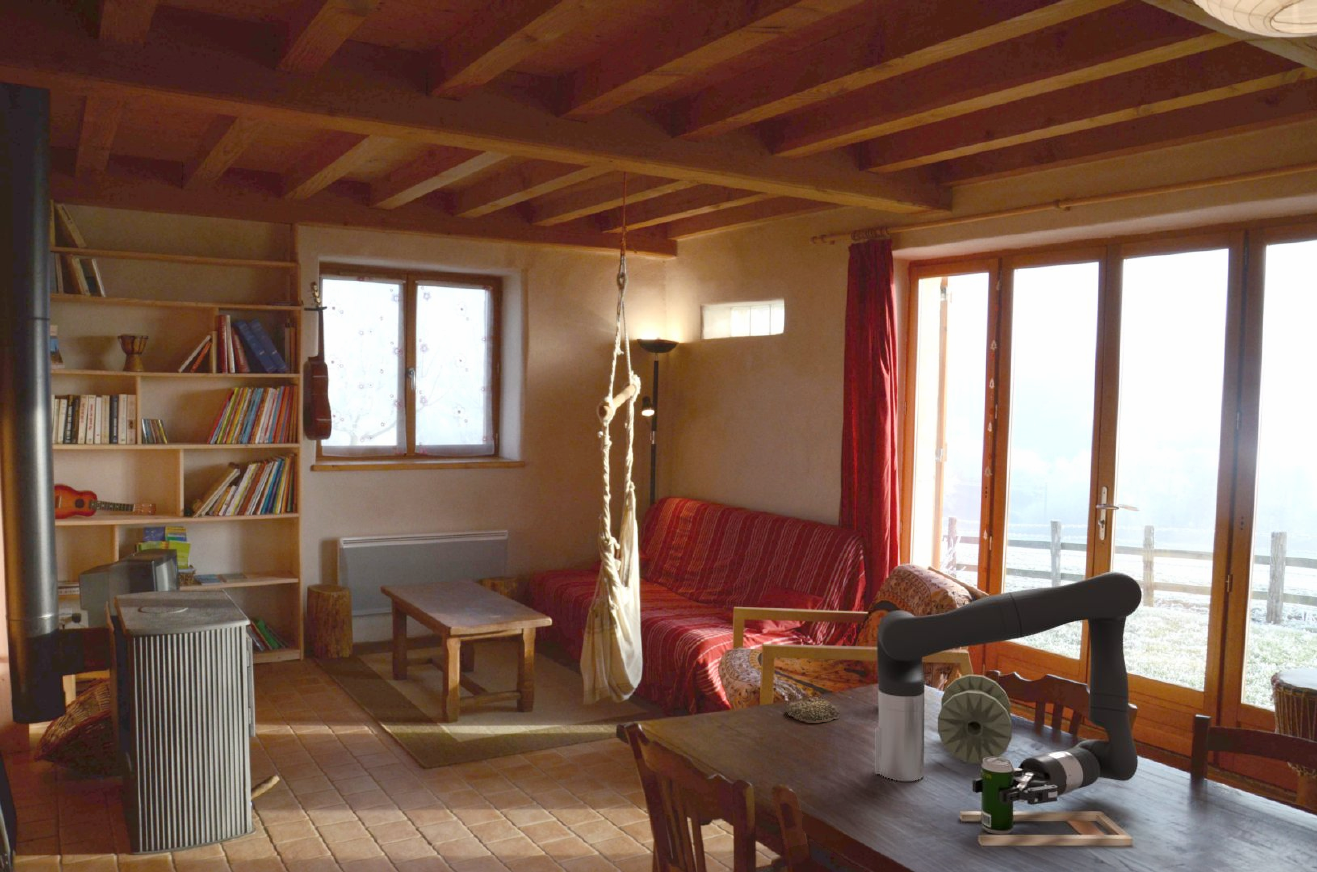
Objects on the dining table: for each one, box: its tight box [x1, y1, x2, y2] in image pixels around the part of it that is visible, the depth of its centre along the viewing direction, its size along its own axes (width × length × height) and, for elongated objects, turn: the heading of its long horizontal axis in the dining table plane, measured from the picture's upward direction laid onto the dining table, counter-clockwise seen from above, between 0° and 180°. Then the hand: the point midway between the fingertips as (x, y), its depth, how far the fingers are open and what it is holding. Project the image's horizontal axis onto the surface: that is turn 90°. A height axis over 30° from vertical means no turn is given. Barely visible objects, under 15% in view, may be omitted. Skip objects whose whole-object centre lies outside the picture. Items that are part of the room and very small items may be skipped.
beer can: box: [980, 756, 1014, 835], centre depth 176 cm, size 5×5×12 cm
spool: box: [937, 674, 1013, 765], centre depth 220 cm, size 16×15×15 cm
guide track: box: [959, 810, 1134, 847], centre depth 176 cm, size 26×12×1 cm, turn 90°
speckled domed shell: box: [784, 696, 841, 721], centre depth 246 cm, size 13×12×5 cm
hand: (987, 792), depth 175 cm, fingers closed on beer can, 5 cm apart
